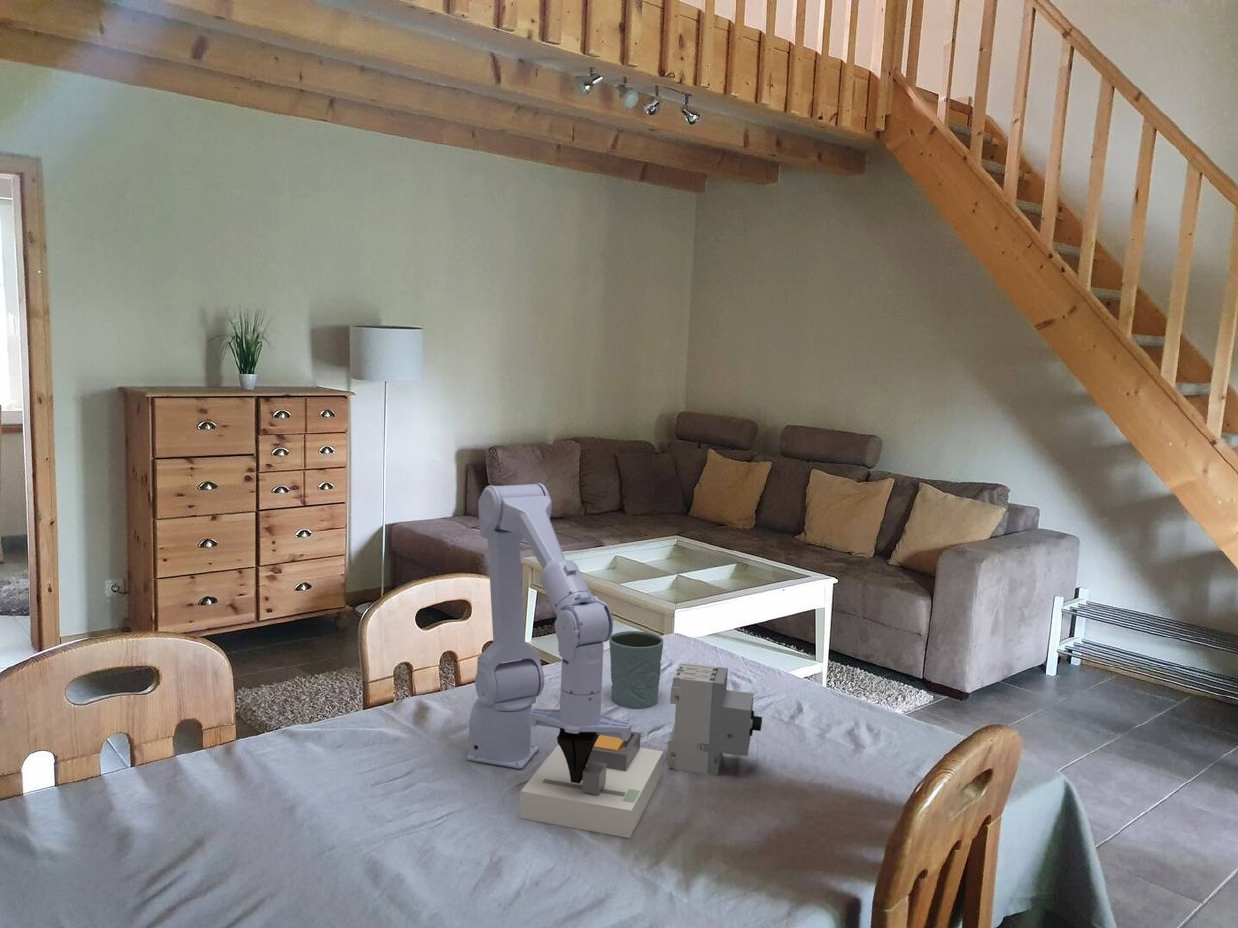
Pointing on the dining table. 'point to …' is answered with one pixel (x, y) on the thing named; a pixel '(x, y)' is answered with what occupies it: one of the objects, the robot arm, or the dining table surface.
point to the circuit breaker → (708, 719)
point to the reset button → (610, 743)
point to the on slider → (594, 777)
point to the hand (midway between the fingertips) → (577, 779)
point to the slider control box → (603, 813)
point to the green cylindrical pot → (635, 668)
